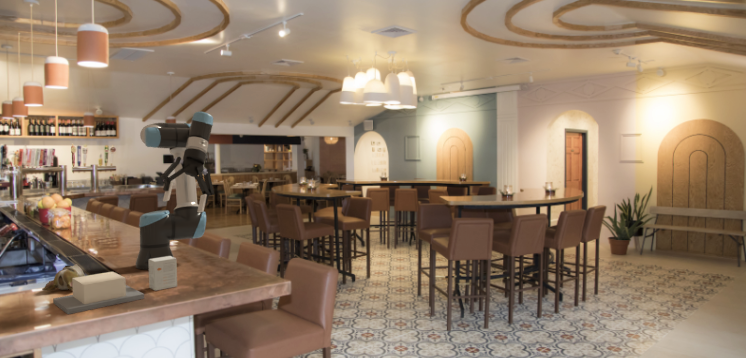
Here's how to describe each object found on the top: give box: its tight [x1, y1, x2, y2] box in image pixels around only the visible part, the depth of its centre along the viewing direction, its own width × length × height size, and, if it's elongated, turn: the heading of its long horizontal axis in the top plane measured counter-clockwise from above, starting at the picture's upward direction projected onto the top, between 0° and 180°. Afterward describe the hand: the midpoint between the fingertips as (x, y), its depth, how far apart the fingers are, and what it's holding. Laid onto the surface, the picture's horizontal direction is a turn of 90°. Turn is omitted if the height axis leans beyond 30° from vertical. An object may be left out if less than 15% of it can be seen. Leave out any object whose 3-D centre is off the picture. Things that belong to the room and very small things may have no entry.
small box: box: [148, 256, 178, 291], centre depth 170 cm, size 8×6×10 cm
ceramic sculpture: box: [41, 263, 86, 292], centre depth 169 cm, size 11×9×15 cm
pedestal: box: [52, 271, 145, 315], centre depth 154 cm, size 16×22×8 cm
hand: (183, 206), depth 167 cm, fingers open, 13 cm apart
